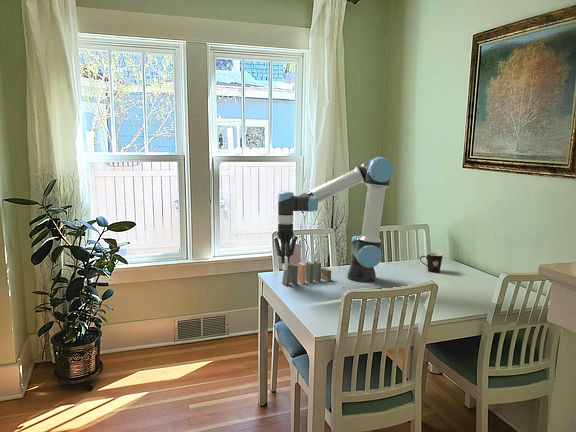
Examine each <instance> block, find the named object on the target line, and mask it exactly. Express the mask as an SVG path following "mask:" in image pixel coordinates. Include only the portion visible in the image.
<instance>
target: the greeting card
mask: <svg viewBox="0 0 576 432" xmlns="http://www.w3.org/2000/svg"><path fill="white" fill-rule="evenodd" d="M290 246H291V244H290ZM301 246H302V243H295V248H294V252H293V255H291V256H290V257H289V263H288V264H289V265H290V264H292V263H294V264H296V265H298V263H301V258H302V257H301V253H302V251H301V250H302V249H301ZM285 256H286V244H285ZM281 271H284V270H283V264H282V263H281Z"/></svg>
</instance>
